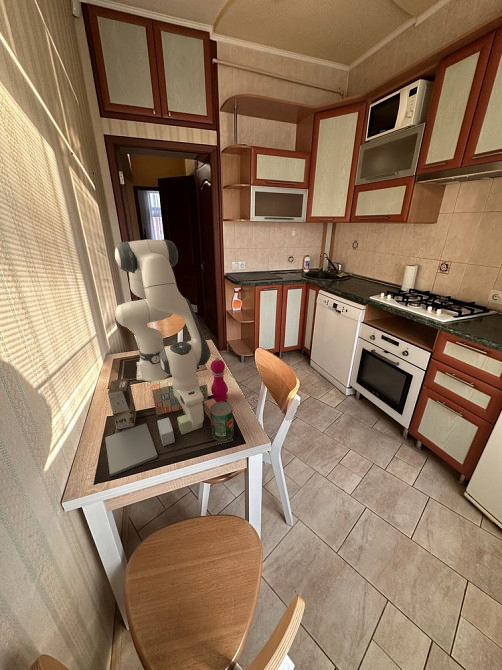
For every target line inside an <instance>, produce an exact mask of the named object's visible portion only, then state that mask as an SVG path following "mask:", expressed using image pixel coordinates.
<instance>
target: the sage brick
mask: <svg viewBox="0 0 502 670" xmlns="http://www.w3.org/2000/svg"><path fill="white" fill-rule="evenodd" d="M203 422H204V421H203ZM203 422H202V423H200V424H198V428H196V429H193V428H192V425H191V421H190V419H189V418H188V416H187V414H186V415H185V414H184V415H180V416H178V417H177V424H178V429H179V432H180V433H181V435H185V434H188V433H191V432H194V431H195V430H198V429H201V428H204V423H203Z"/></svg>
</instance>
